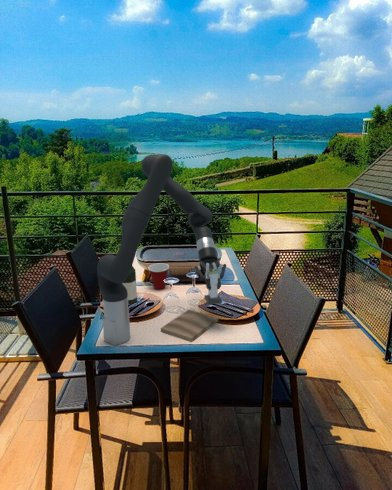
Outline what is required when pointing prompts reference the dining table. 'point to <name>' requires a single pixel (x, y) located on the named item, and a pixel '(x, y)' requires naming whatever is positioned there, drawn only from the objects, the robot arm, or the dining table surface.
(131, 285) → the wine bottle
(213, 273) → the square capped column
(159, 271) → the plastic cup
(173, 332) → the serving board
